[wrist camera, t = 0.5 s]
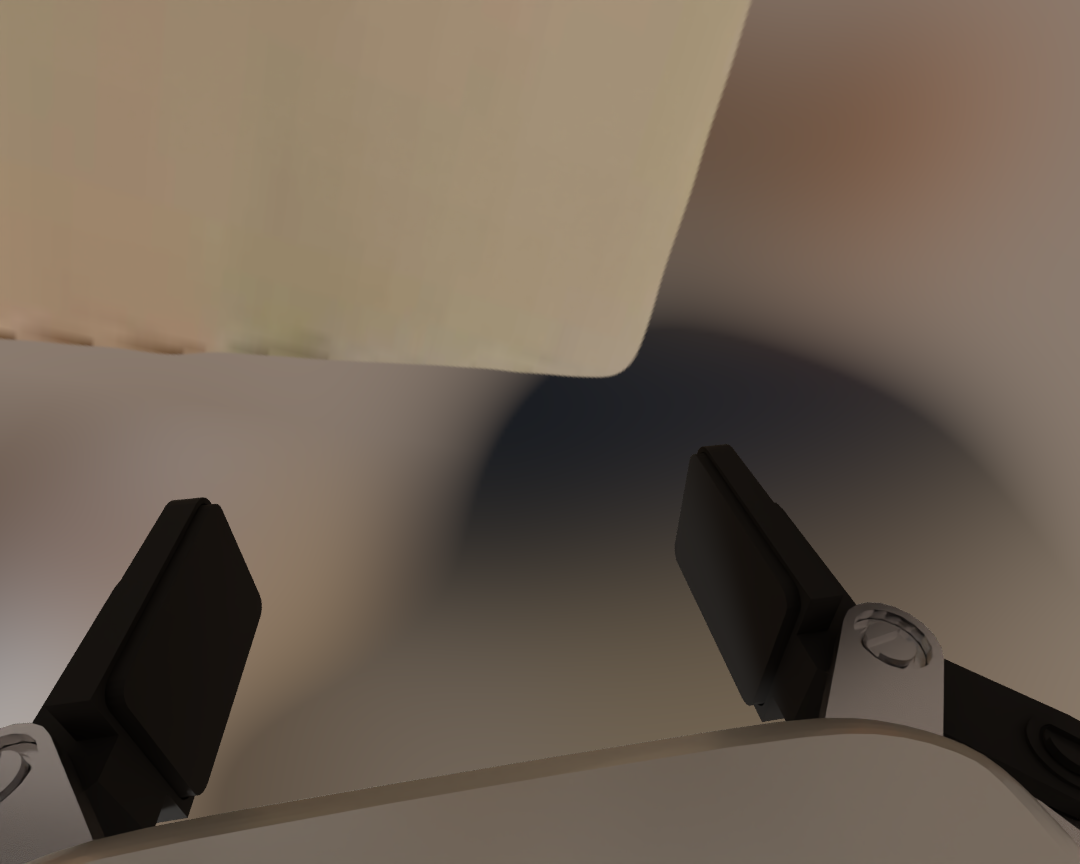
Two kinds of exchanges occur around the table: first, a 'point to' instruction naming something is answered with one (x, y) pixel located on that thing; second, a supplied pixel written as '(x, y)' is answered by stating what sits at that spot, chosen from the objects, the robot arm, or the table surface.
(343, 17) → the table surface
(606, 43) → the table surface
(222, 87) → the table surface
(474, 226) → the table surface
